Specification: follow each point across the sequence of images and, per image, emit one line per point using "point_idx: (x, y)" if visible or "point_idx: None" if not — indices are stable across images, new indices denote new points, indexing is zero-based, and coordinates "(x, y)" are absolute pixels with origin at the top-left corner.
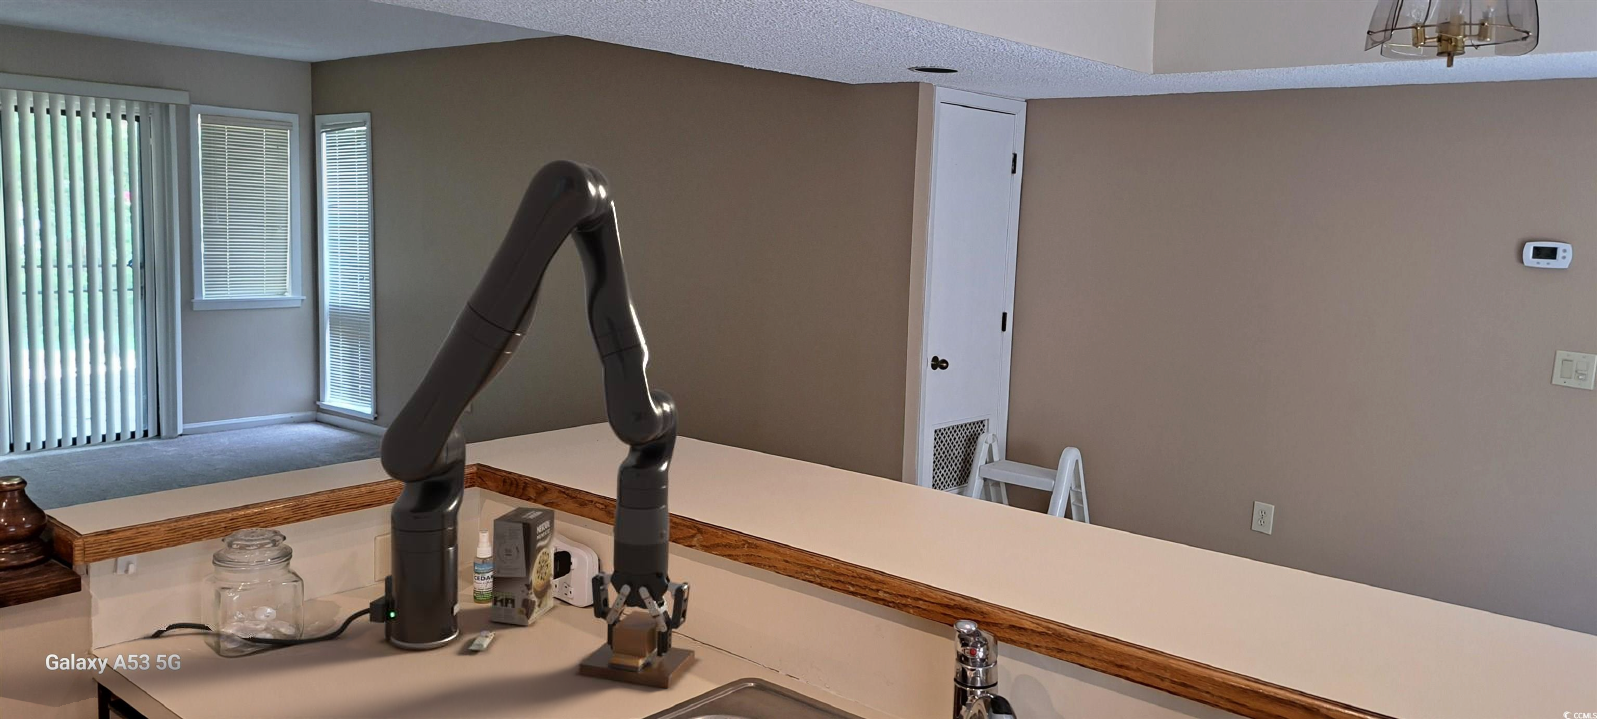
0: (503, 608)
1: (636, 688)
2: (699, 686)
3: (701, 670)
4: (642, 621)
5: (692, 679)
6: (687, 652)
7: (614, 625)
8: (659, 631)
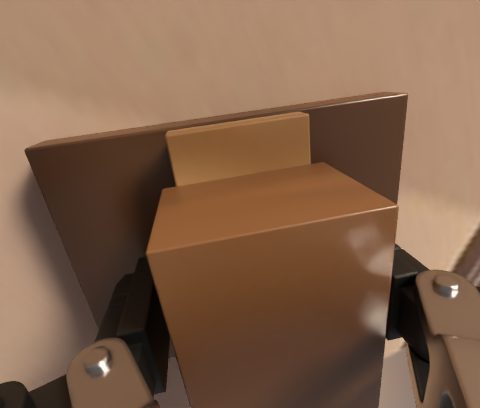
0: None
1: None
2: (437, 244)
3: (421, 154)
4: (303, 354)
5: (411, 219)
6: (387, 127)
7: (160, 391)
8: (395, 335)
